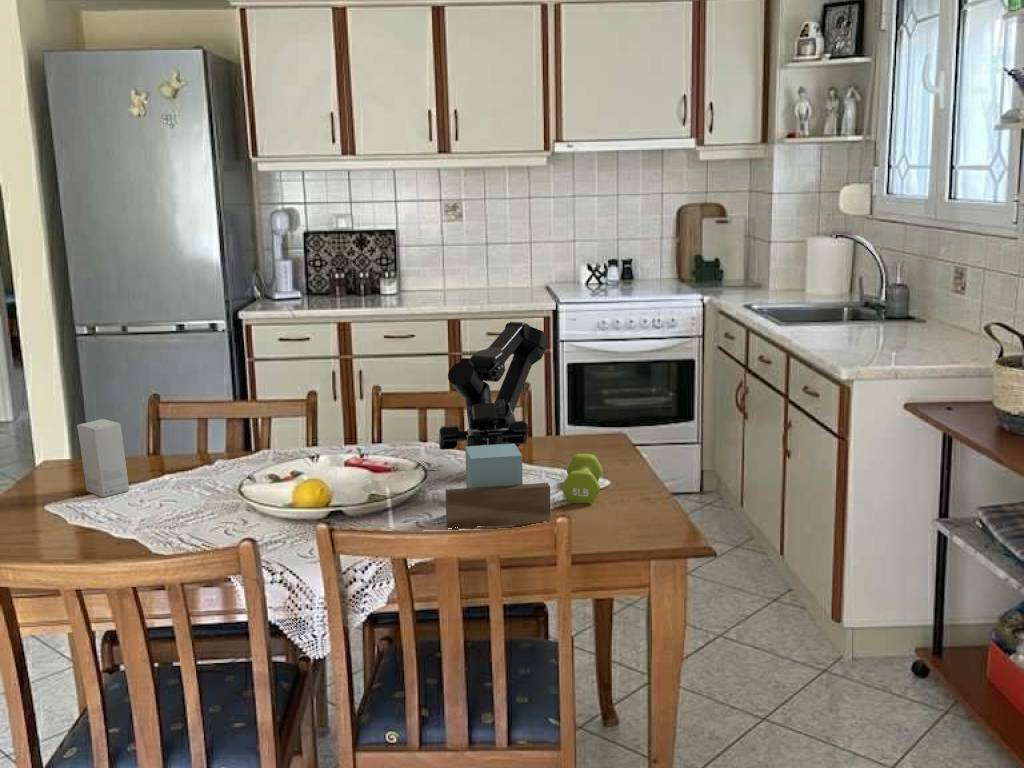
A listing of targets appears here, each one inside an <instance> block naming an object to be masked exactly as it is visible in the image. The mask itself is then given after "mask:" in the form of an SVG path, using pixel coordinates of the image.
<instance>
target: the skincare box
mask: <svg viewBox="0 0 1024 768" xmlns="http://www.w3.org/2000/svg"><path fill="white" fill-rule="evenodd" d="M121 424H122V423H120V422H117V421H112V420H109V419H105V418H103V419H97V420H92V421H88V422H85V423H84V422H83V423H80V424H77V425H76V426H77V433H78V439H79V446H80V453H81V461H82V462H81V463H82V467H83V468H82V469H83V474H84V475H83V476H84V481H85V489H86V492H88V493H91V494H93V495H96V496H99V497H100V498H107V497H111V496H116V495H119V494H122V493H126V492H129V491H130V485H129V478H128V470H127V464H126V456H125V455H126V454H125V447H124V440H123V439H124V438H123V433H122V432H123V431H122V425H121Z"/></svg>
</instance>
